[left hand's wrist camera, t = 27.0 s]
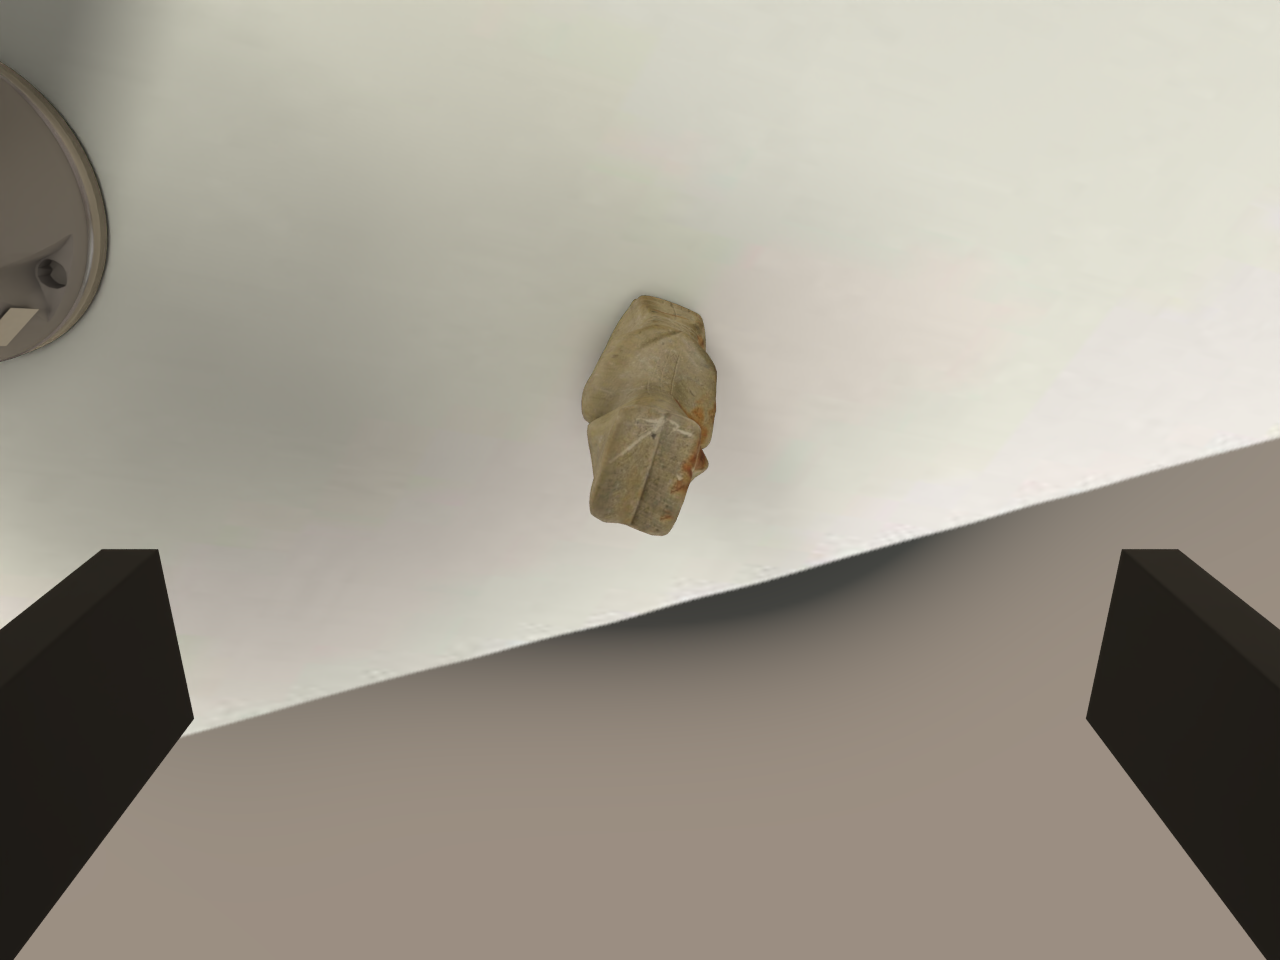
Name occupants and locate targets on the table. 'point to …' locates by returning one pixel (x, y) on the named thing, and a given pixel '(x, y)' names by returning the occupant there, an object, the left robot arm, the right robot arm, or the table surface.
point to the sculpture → (649, 415)
